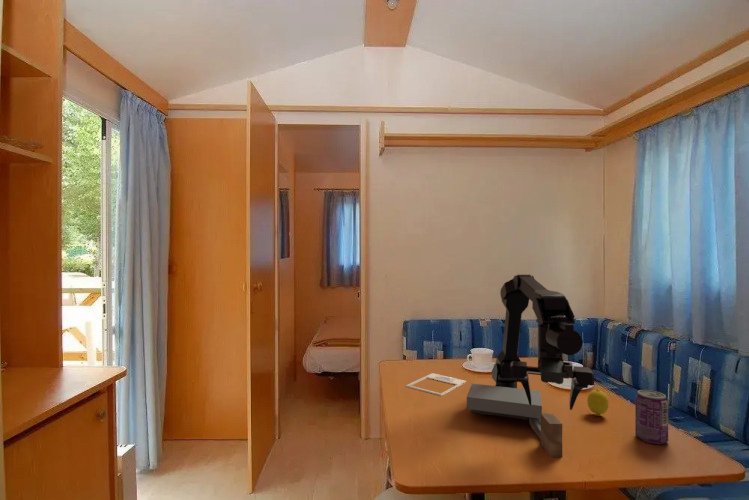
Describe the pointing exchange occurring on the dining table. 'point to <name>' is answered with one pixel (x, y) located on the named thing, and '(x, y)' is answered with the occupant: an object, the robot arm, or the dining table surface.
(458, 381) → the photo frame
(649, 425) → the beverage can
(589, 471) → the dining table surface
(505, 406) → the grey rectangular block
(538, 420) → the steel token
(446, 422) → the dining table surface
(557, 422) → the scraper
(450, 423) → the dining table surface
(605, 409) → the lemon
